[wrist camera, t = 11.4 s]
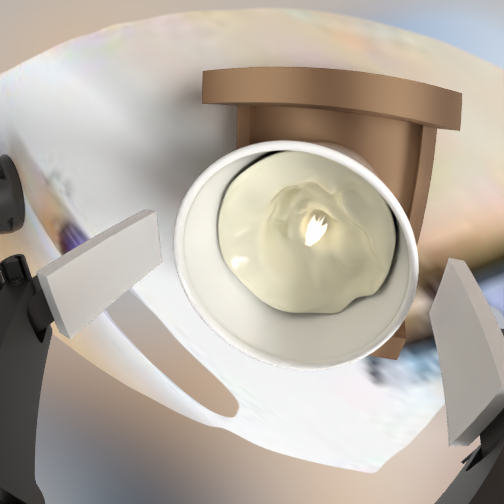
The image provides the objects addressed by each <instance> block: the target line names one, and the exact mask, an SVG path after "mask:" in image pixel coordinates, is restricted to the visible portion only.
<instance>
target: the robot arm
mask: <svg viewBox="0 0 504 504" xmlns="http://www.w3.org/2000/svg"><path fill="white" fill-rule="evenodd" d="M23 222H24V200H23V193H22V188H21V184H20V180H19V177H18V174H17V171H16V168H15V166H14V164H13V162H12V160H11V159H10V158H9V157H8V156H7V155H2V156H0V234H8V233H12V232H14V231H16V230H18V229H20V228H21V227H22V225H23ZM160 263H162V255H161V247H160V239H159V231H158V221H157V212H156V211H151V210H143V211H141V212H139V213H137V214H135V215H133V216H131V217H129V218H128V219H126V220H124V221H122V222H120V223H118V224H116V225H115V226H113V227H111V228H109V229H107V230H105V231H104V232H102V233H100V234H98V235H97V236H95V237H93V238H91V239H90V240H88V241H86V242H84V243H83V244H81V245H79V246H78V247H76V248H74V249H72V250H71V251H69V252H67V253H66V254H64V255H63V256H61V257H59V258H58V259H56V260H54V261H53V262H51V263H50V264H48V265H46V266H45V267H43V268H42V269H40V270H39V271H37V272H36V273H37V275H36V276H35V277H33V278H32V277H31V274H30V271H29V268H28V265H27V262H26V258H25V256H24V255H22V254H16V255H13V256H10V257H8V258H6V259H4V260H3V261H1V262H0V271H1V272H0V504H45V500H44V497H43V495H42V492H41V491H40V489H39V487H38V486H37V484H36V481H35V475H34V474H35V473H34V472H35V441H36V426H37V416H38V407H39V399H40V392H41V385H42V380H43V374H44V368H45V363H46V358H47V353H48V349H49V344H50V340H51V336H52V328H51V325H50V324H51V323H52V322H53V321H55V323H56V325H57V328H58V330H59V332H60V333H61V334H63V335H64V336H66V337H68V338H69V339H71V338H73V337H74V336H75V335H76V334H77V333H78V332H79V331H81V330H82V329H83V328H84V327H85V326H86V325H87V324H88V323H90V322H91V321H92V320H93V319H94V318H95V317H97V316H98V315H99V314H100V313H101V312H102V311H104V310H105V309H106V308H107V307H108V306H109V305H110V304H112V303H113V302H114V301H115V300H117V298H119V297H120V296H121V295H122V294H124V293H125V292H126V291H127V290H128V289H130V288H131V287H132V286H133V285H135V284H136V283H137V282H138V281H139V280H141V279H142V278H143V277H144V276H146V275H147V274H148V273H149V272H150V271H152V270H153V269H154V268H155V267H157V266H158V265H159V264H160ZM1 274H2V275H1ZM2 276H3V278H2ZM3 279H4V280H3ZM429 315H430V320H431V324H432V328H433V333H434V337H435V342H436V347H437V352H438V357H439V363H440V368H441V375H442V381H443V388H444V396H445V404H446V411H447V412H446V414H447V425H448V441H449V446H468V445H470V444H471V443H472V442H473V441H474V440H475V439H476V438H477V437H478V436H479V435H480V440H481V445H480V446H479V447H478V448H477V449H475V450H474V451H473V452H472V453H471V454H470V455H468V456H467V457H466V458H465V459H464V460H463V461H462V463H463V464H464V463H465V462H466V461H467V460H468V461H467V463H466V464H465V466H464V467H463V469H462V470H461V471H460V473H459V474H458V475H457V477H456V478H455V479H454V481H453V482H452V483H451V484H450V486H449V487H448V488H447V490H446V491H445V492H444V493H443V494H442V496H441V497H440V498H439V499H438V500H437V502H436V503H435V504H504V329H500V327H499V325H498V323H497V321H496V319H495V316H494V314H493V312H492V310H491V308H490V306H489V304H488V302H487V300H486V299H485V297H484V295H483V293H482V291H481V289H480V287H479V286H478V284H477V282H476V280H475V278H474V277H473V275H472V273H471V271H470V270H469V268H468V266H467V265H466V263H465V261H462V260H457V259H452V258H449V259H448V262H447V266H446V269H445V272H444V275H443V278H442V281H441V283H440V286H439V289H438V292H437V294H436V297H435V300H434V302H433V305H432V307H431V310H430V312H429Z"/></svg>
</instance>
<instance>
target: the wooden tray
mask: <svg viewBox="0 0 504 504" xmlns="http://www.w3.org/2000/svg"><path fill="white" fill-rule="evenodd" d="M202 104H221V105H235V106H237V149H240V148H242V147H245V146H248V145H252V144H256V143H261V142H267V141H277V140H291V141H302V142H331V143H336V144H340V145H343V146H346V147H348V148H350V149H352V150H354V151H355V152H357V153H358V154H360V155H361V156H362V157H363V158H364V159H365V160H366V161H367V162H368V163H369V164H370V165H371V166H372V167H373V169H374V170H375V171H376V173H377V174H378V176H379V177H380V179H381V180H382V182H383V183H384V184H385V185H386V186H387V187H388V188H389V190H390V191H391V192H392V193H393V195H394V196H395V197H396V199H397V200H398V202H399V203H400V205H401V207H402V208H403V210H404V212H405V214H406V216H407V218H408V220H409V223H410V225H411V228H412V230H413V234H414V237H415V241H416V246H417V244H418V240H419V236H420V231H421V227H422V222H423V218H424V213H425V208H426V203H427V198H428V192H429V187H430V181H431V174H432V167H433V160H434V152H435V143H436V133H437V128H438V129H449V130H458V131H460V125H461V109H462V93H458V92H455V91H452V90H448V89H445V88H441V87H437V86H433V85H429V84H425V83H421V82H416V81H412V80H407V79H402V78H396V77H391V76H385V75H379V74H372V73H365V72H357V71H348V70H338V69H326V68H308V67H249V68H232V69H219V70H209V71H203V82H202ZM405 341H406V331H405V320H404V321H403V322H402V324H401V325H400V327H399V328H398V329H397V331H396V332H395V333H394V334H393V335H392V336H391V338H390V339H389V340H388V341H386V342H385V343H384V344H383V345H382V346H381V347H379V348H378V349H377V350H375V351H374V352H372V353H371V354H369V355H370V356H375V357H381V358H387V359H394V360H397V358H398V356H399V354H400V352H401V350H402V347H403V345H404V343H405Z"/></svg>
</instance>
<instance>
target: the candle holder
mask: <svg viewBox="0 0 504 504" xmlns="http://www.w3.org/2000/svg"><path fill="white" fill-rule="evenodd" d="M173 250H174V259H175V265H176V269H177V273H178V276H179V279H180V282H181V285H182V287H183V289H184V292H185V294H186V296H187V298H188V299H189V301H190V303H191V305H192V306H193V308H194V309H195V311H196V312H197V313H198V315H199V316H200V317H201V319H202V320H203V321H204V322H205V323H206V324H207V325H208V326H209V327H210V329H211V330H213V331H214V332H215V333H216V334H217V335H218V336H219V337H220V338H222V339H223V340H224V341H225V342H227V343H228V344H229V345H231V346H232V347H234V348H235V349H237V350H239V351H240V352H242V353H244V354H246V355H248V356H250V357H252V358H254V359H256V360H259V361H261V362H264V363H267V364H270V365H274V366H277V367H282V368H287V369H294V370H325V369H331V368H336V367H340V366H344V365H347V364H350V363H353V362H355V361H357V360H360V359H362V358H364V357H366V356H367V355H369V354H371V353H372V352H374V351H375V350H377V349H378V348H379V347H381V346H382V345H383V344H384V343H385V342H386V341H388V340H389V339H390V338H391V336H392V335H393V334H394V333H395V332H396V331H397V329H398V328H399V327H400V325H401V324H402V322H403V321H404V319H405V317H406V316H407V314H408V312H409V310H410V307H411V305H412V302H413V299H414V296H415V292H416V288H417V282H418V270H419V263H418V252H417V246H416V241H415V237H414V234H413V230H412V228H411V225H410V223H409V220H408V218H407V216H406V214H405V212H404V210H403V208H402V207H401V205H400V203H399V202H398V200H397V199H396V197H395V196H394V195H393V193H392V192H391V191H390V190H389V188H388V187H387V186H386V185H385V184H384V183H383V182H382V180H381V179H380V177H379V176H378V174H377V173H376V171H375V170H374V169H373V167H372V166H371V165H370V164H369V163H368V162H367V161H366V160H365V159H364V158H363V157H362V156H361V155H360V154H358V153H357V152H355V151H354V150H352V149H350V148H348V147H346V146H343V145H340V144H336V143H331V142H302V141H291V140H277V141H267V142H261V143H256V144H252V145H248V146H245V147H242V148H240V149H237V150H235V151H233V152H231V153H229V154H227V155H225V156H223V157H221V158H220V159H218V160H217V161H215V162H214V163H213V164H211V165H210V166H209V167H208V168H207V169H206V170H204V171H203V172H202V173H201V174H200V175H199V177H198V178H197V179H196V180H195V181H194V183H193V184H192V185H191V187H190V188H189V190H188V191H187V193H186V195H185V197H184V199H183V201H182V203H181V205H180V208H179V211H178V214H177V218H176V222H175V227H174V236H173Z"/></svg>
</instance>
